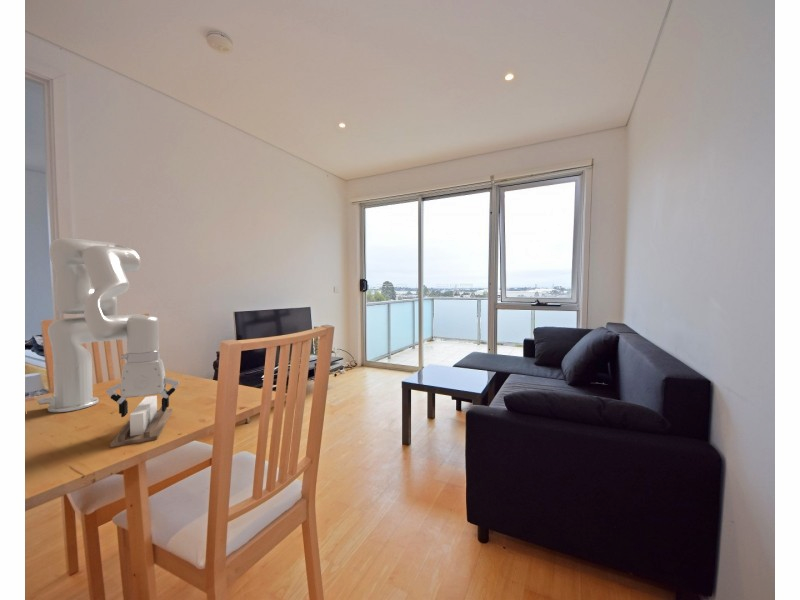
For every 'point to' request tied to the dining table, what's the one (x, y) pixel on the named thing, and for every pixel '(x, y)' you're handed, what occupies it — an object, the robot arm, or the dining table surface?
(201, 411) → the dining table surface
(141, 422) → the white strip
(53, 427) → the dining table surface
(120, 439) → the walnut rack
